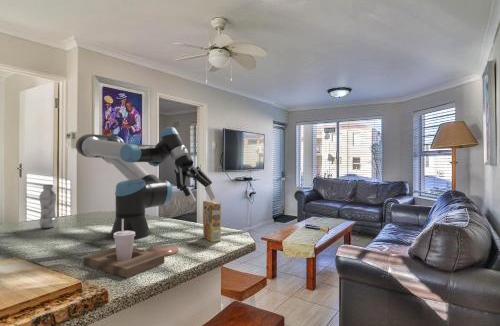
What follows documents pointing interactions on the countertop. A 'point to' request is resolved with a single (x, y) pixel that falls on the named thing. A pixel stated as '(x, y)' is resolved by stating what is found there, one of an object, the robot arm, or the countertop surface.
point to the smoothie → (124, 244)
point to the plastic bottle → (47, 207)
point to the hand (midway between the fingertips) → (204, 200)
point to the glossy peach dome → (164, 250)
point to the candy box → (212, 221)
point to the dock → (127, 268)
